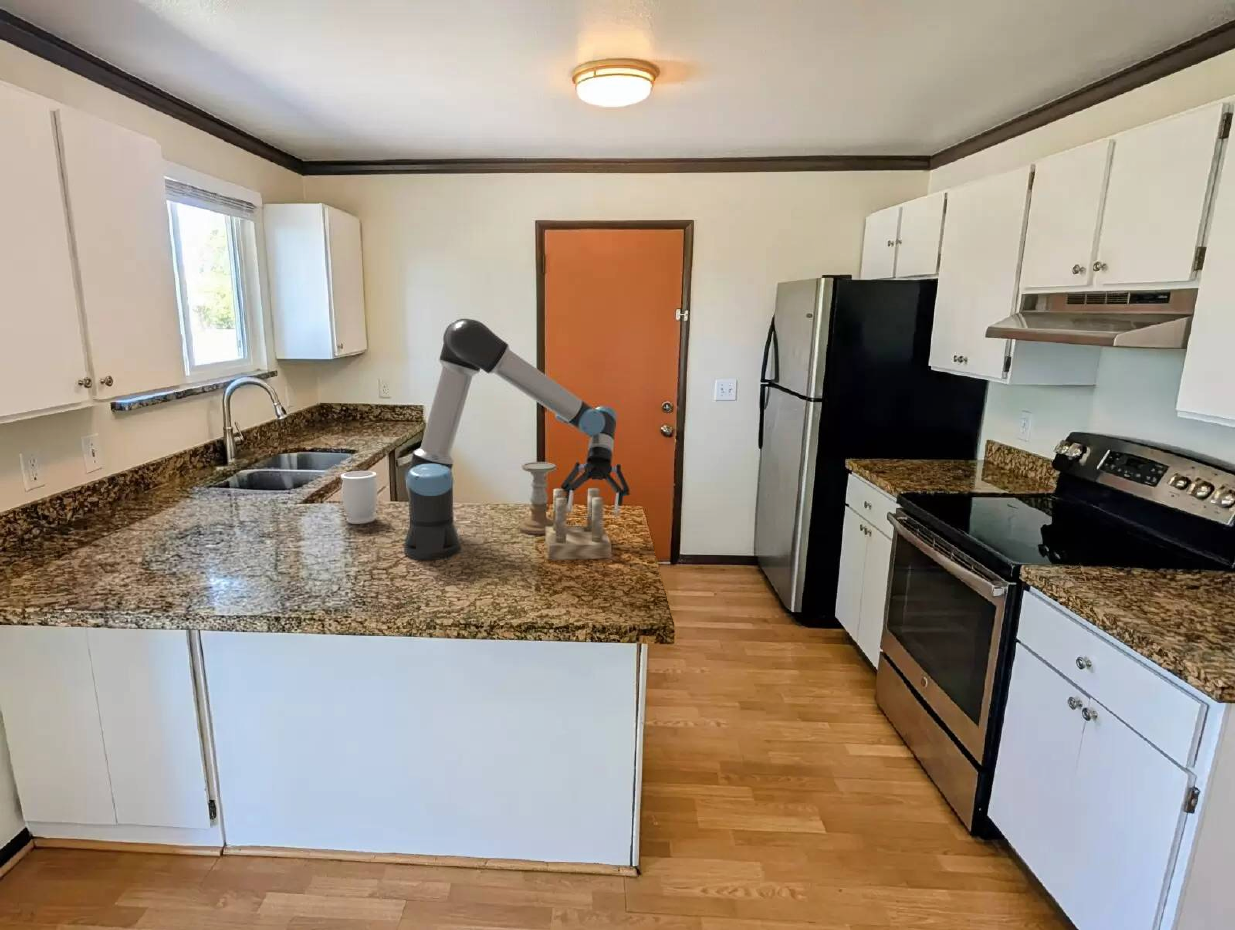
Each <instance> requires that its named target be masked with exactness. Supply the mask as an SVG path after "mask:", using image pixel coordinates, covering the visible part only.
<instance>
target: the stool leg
mask: <svg viewBox="0 0 1235 930" xmlns="http://www.w3.org/2000/svg"><path fill="white" fill-rule="evenodd" d="M594 497H600V489H599V488H597V487H589V488H588V489H587V515H586V519H587V520H586V526H587V532H592V498H594Z"/></svg>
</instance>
